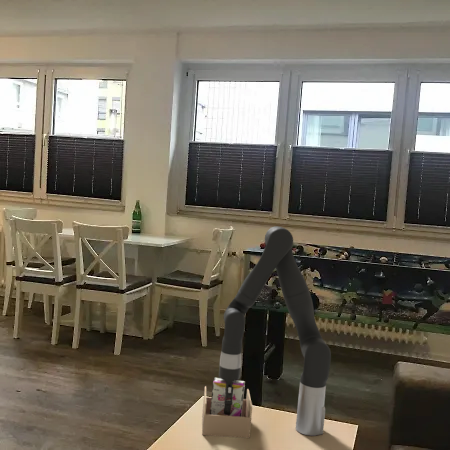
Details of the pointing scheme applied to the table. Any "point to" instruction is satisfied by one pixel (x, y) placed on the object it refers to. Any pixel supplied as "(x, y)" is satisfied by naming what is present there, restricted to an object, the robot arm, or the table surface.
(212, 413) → the candy bar box
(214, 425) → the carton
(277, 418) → the table surface
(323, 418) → the robot arm
